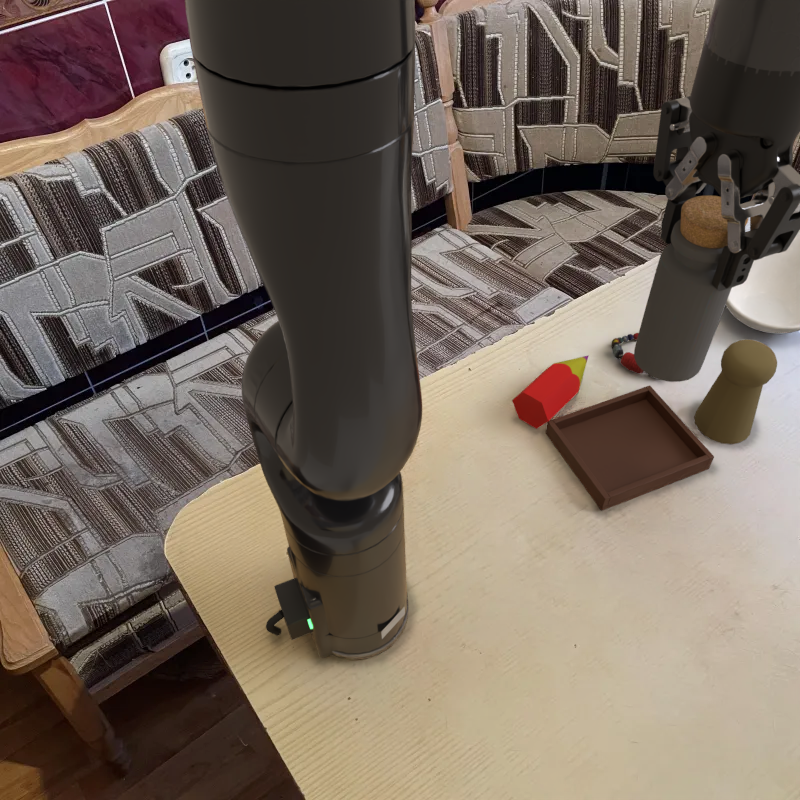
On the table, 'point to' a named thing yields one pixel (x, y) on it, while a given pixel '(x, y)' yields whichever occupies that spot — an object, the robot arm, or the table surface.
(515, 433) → the table surface
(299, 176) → the robot arm
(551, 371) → the pencil
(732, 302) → the spoon rest
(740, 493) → the table surface
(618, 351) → the necklace
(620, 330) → the table surface
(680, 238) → the bottle
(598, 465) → the tray
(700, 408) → the pepper shaker
